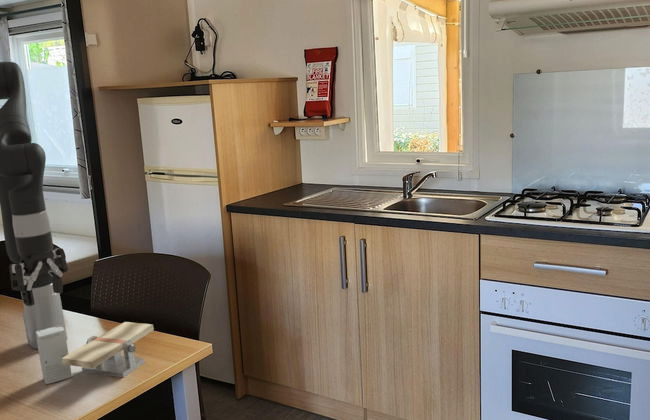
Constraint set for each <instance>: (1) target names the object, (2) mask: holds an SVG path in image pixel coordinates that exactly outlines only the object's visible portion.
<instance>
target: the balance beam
mask: <svg viewBox="0 0 650 420" xmlns="http://www.w3.org/2000/svg"><path fill="white" fill-rule="evenodd" d="M154 329H155V328H154V324H150V323H138V322H130V321H123V322H122V323H121V324H118V325H117V326H115V327H113V328H112V329H109V330H108V331H106V332H105V333H103V334H101V335H100V336H97V338H95V339H93V340H92V341H91V342H89V343H87V344H83V345H82V346H80V347H79V348H76V349H75V350H73V351H71V352H70V353H68V355H66V356H64V357H63V358H62V364H64V365H70V366H74V367H80V368H83V367H86V368H95V367H96V366H98V365H99V364H101V363H103V362H104V361H106V360H107V359H109V358H110V357H112V356H114V355H115V354H117V353H118V352H120V351H121V352H122V351H124V348H123V343H124V342H125V341H127V340H132V342H133V344H134V343H136V342H138V341H139V340H140V339H142V338H143V337H146V335H149V334H150V333H151V332H153V331H154Z"/></svg>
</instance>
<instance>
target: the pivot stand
mask: <svg viewBox="0 0 650 420" xmlns="http://www.w3.org/2000/svg"><path fill="white" fill-rule="evenodd" d="M97 337H98V336H97V335H92V336H90V337H89V338H87V341H86V344H87V343H89V342H91V341H92V340H93V339H95V338H97ZM123 348H124V349H123V353H124V354H123V355H122V350H121V351H120V352H118V353H117V354H115V355H114V356H112V357H110V358H109V359H107V360H106V361H104V362H103V363H101V364H99V365H98V366H96V367H95V368H86V367H81V370H82V372H83V373H91V374H95V375H96V374H97V375H104V376H111V377H118V378H125V377H126V376H127V375H129V374H130V373H132V372H133V371H135V370H136V369H137V368H139V367H140V366H142V365H144V363H145V362H146V360H145V358H143V357H136V356H135V352H136V348H137V346H136V345H135V344H134V343H133V342H132V340H127V341H125V342H124V343H123Z"/></svg>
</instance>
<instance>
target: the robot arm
mask: <svg viewBox="0 0 650 420" xmlns="http://www.w3.org/2000/svg"><path fill="white" fill-rule="evenodd" d="M0 100H7V101H5V103H4V104H3V105H2V106H1V107H0V212H1V220H2V221H1V222H2V228H3V237H4V244H5V249H6V253H7V257H8V258H9V260H10V261H11V262H12V263H10V264H9V266H8V268H9V269H8V270H9V277H10V284H11V289H12V290H13V291H20V295H21V300H22V304H23V310H24V311H23V312H22V319H23V323H24V329H25V333H26V334H25V335H26V339H27V345H28V346H30V347H31V348H32V349H35V350H38V344H37V337H36V331H40V330H44V329H47V328H52V327H57V326H62V327H63V328H64V330H65V334H66V341H67V340H68V334H67V333H68V332H67V329H66V324H65V323H66V322H65V316H64V310H63V306H62V300H61V296H60V295H61V293H63V292H64V291H63V290H64V284H63V279H62V277H63V274H64V273H68V270H69V269H68V264H67V259H66V255H65V250H64V248H54V242H53V241H54V240H53V235H52V230H51V224H50V219H49V216H48V212H47V209H46V203H45V198H44V197H45V196H44V187H43V185H44V175H45V167H46V161H47V160H46V159H47V157H46V153H45V150H44V148H43V147H42V146H41V145H40V144H39V143H36V142H32V141H33V140H32V133H31V130H30V125H29V121H28V118H27V117H28V116H27V115H28V114H27V97H26V87H25V79H24V74H23V71H22V69H21V67H20V65H19V64H18V63H16V62H14V61H0Z"/></svg>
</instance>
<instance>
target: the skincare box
mask: <svg viewBox="0 0 650 420" xmlns="http://www.w3.org/2000/svg"><path fill="white" fill-rule="evenodd" d="M36 337H37V344H38V349H37V350H38V355H39V361H40V366H41V367H40V368H41V374H42V380H43V381H44V383H45V385H50V384H53V383H56V382H60V381H63V380H67V379H71V378H72V374H73V373H72V368H71V365H64V364H62V358H63V357H64V356H66V355H68V354H69V348H68V343H67V342H68V341H67V340H66V334H65V330H64V328H63V327H62V326H57V327H52V328H47V329H44V330H40V331H36Z"/></svg>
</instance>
